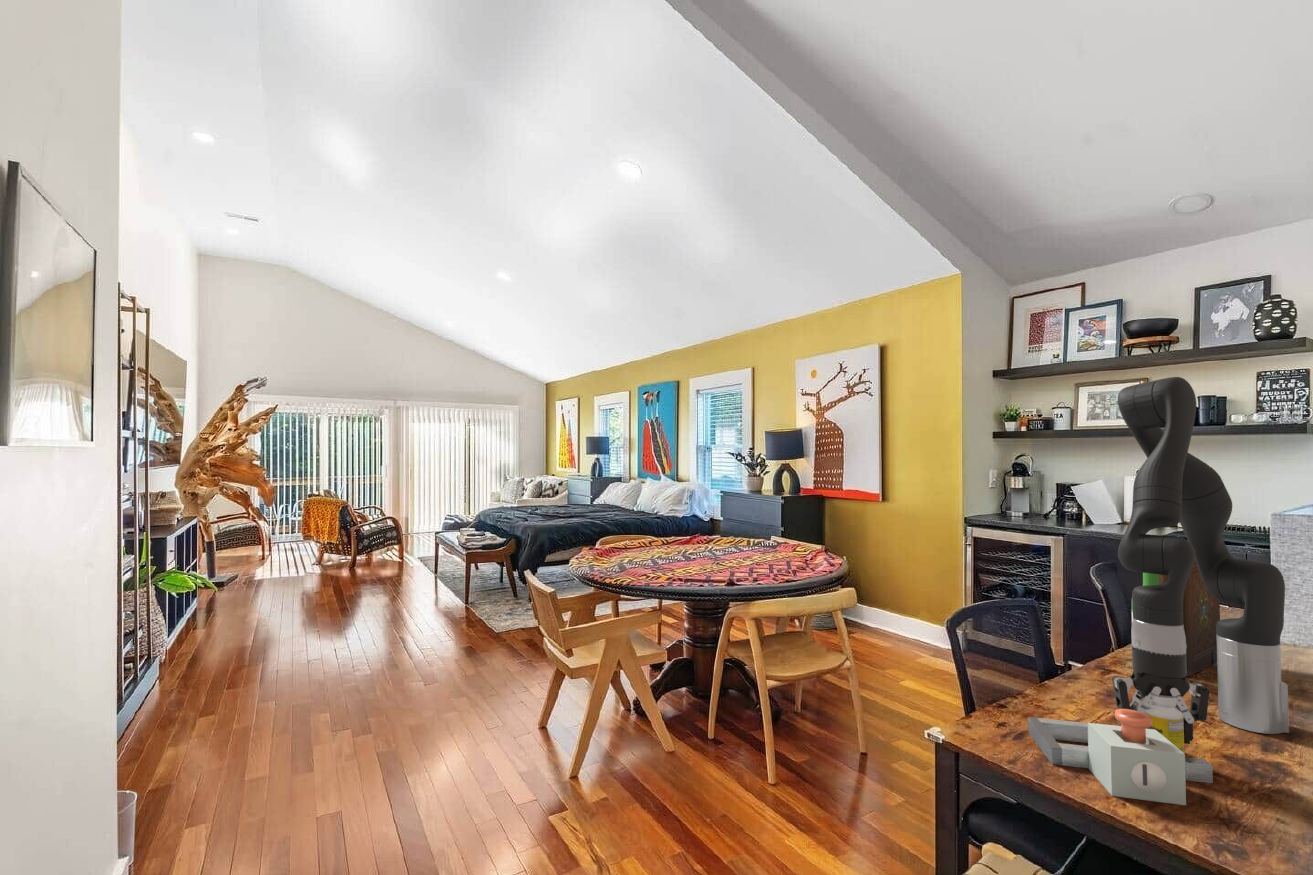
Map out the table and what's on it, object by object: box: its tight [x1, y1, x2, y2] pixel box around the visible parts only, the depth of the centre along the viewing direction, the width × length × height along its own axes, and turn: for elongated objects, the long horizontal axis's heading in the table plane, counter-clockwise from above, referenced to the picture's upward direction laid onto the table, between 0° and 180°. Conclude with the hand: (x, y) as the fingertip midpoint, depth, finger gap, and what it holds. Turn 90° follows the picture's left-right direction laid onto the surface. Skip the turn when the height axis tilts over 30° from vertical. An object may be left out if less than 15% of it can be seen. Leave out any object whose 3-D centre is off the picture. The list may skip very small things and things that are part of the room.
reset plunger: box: [1114, 708, 1152, 744], centre depth 98 cm, size 5×5×4 cm
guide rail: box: [1027, 716, 1214, 784], centre depth 108 cm, size 24×12×3 cm, turn 75°
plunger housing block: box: [1087, 722, 1187, 806], centre depth 98 cm, size 10×9×8 cm
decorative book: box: [1159, 560, 1221, 677], centre depth 153 cm, size 23×7×30 cm, turn 122°
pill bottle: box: [1144, 695, 1185, 754], centre depth 106 cm, size 6×6×11 cm
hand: (1161, 739), depth 106 cm, fingers closed on pill bottle, 6 cm apart
